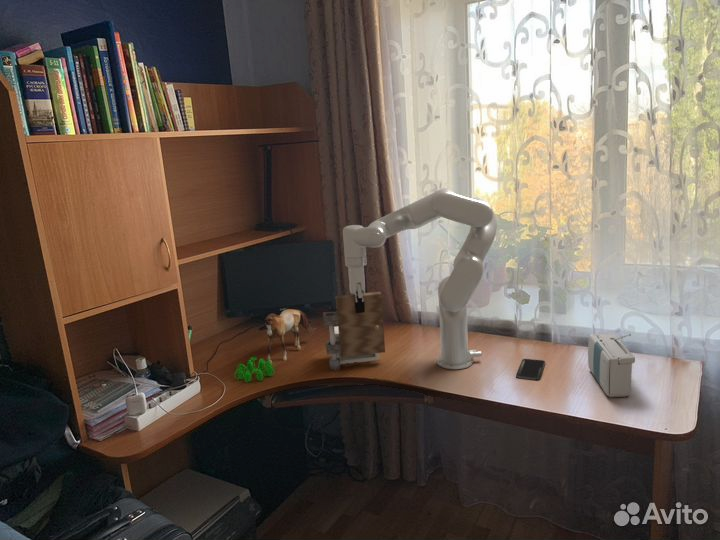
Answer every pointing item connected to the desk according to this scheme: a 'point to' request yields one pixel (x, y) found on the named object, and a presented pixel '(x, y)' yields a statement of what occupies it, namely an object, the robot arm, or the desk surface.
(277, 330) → the horse figurine
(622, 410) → the desk surface
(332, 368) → the cabinet
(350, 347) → the walnut door
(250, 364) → the green lumpy cluster
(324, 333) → the desk surface
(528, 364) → the phone
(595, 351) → the stereo radio cassette player
